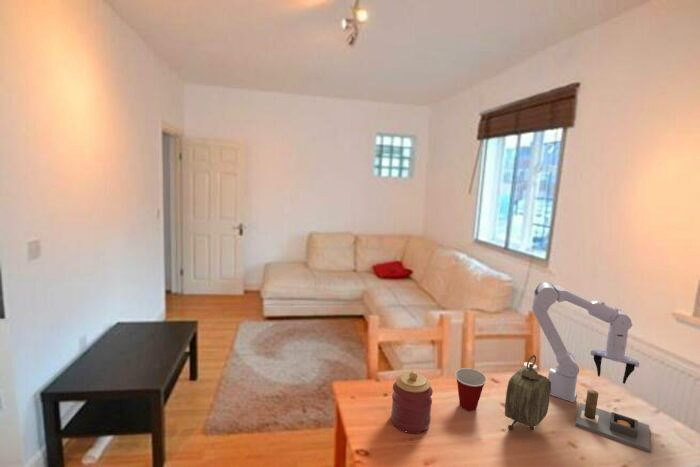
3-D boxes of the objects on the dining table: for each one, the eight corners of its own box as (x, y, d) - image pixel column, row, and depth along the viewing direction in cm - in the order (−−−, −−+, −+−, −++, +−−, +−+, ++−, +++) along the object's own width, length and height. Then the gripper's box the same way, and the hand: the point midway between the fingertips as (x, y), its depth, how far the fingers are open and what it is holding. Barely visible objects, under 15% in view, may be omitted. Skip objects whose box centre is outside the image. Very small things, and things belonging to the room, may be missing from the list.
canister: (434, 416, 131) (437, 368, 128) (424, 439, 119) (428, 386, 116) (397, 406, 136) (400, 359, 133) (385, 426, 124) (388, 376, 122)
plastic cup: (450, 410, 134) (453, 379, 132) (454, 395, 144) (456, 365, 142) (483, 419, 130) (486, 386, 128) (484, 402, 140) (487, 371, 138)
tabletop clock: (520, 412, 135) (527, 345, 131) (547, 424, 129) (556, 354, 125) (502, 430, 125) (509, 358, 121) (530, 444, 119) (539, 368, 115)
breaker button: (616, 426, 126) (617, 423, 126) (617, 421, 129) (617, 418, 129) (630, 431, 124) (630, 428, 124) (630, 425, 127) (630, 423, 127)
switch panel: (574, 425, 129) (576, 415, 128) (580, 405, 141) (581, 396, 140) (649, 452, 117) (651, 441, 116) (648, 427, 129) (650, 418, 128)
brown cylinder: (583, 416, 132) (587, 392, 130) (584, 412, 134) (587, 388, 133) (594, 420, 130) (598, 395, 129) (595, 415, 132) (598, 391, 131)
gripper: (591, 341, 140) (587, 376, 142) (641, 353, 131) (635, 390, 133) (593, 335, 146) (589, 369, 148) (641, 346, 137) (635, 382, 139)
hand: (611, 378), depth 141 cm, fingers open, 7 cm apart
